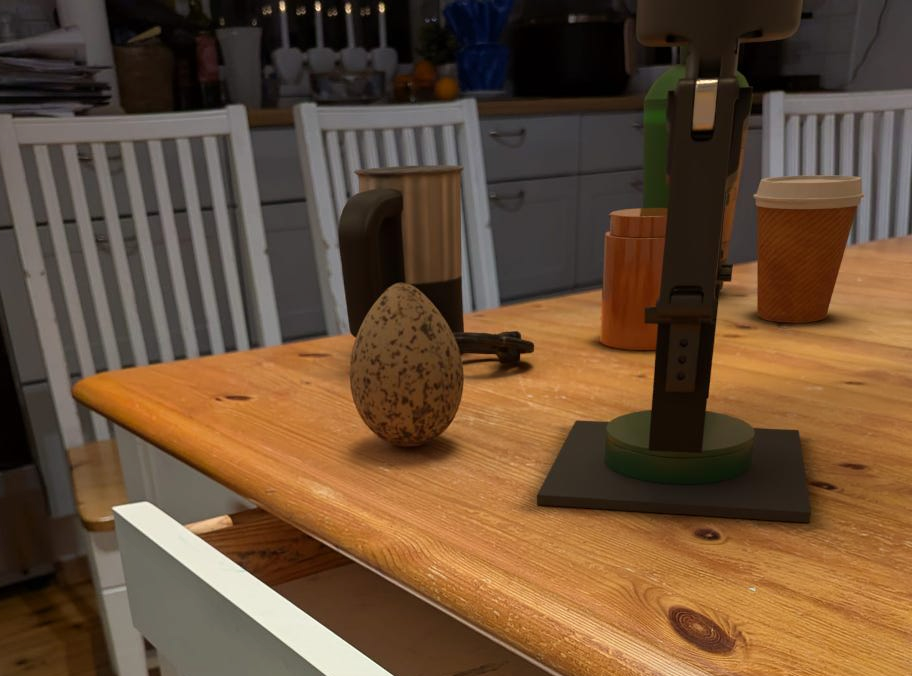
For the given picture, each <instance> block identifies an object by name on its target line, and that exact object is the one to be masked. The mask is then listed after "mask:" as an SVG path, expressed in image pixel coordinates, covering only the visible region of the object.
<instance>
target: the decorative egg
mask: <svg viewBox="0 0 912 676" xmlns="http://www.w3.org/2000/svg"><path fill="white" fill-rule="evenodd" d="M352 345H353V346H352V348H351V349H352V350H351V353H350V361H349V386H350V392H351V397H352V400H353V403H354V406H355V408H356V411H357V413H358V415H359V417H360V419H361V420H362V421H363V423H364V424H365V426H367V428H368V429H369V430H370V431H371V432H372V433H373V434H375V435H376V436H377V437H378V438H379V439H381V440H383V441H385V442H386V443H389V444H391V445H394V446H399V447H406V448H412V447H413V448H414V447H419V446H422V445H423V446H424V445H426V444H428V443H431V442H432V441H434V440H436V439H437V438H438V437H440V436H441V435H442V434H444V432H445V431H446V430H447V429H448V428H449V427H450V425H451V424H452V422H453V421H454V419H455V417H456V415H457V413H458V411H459V408H460V405H461V401H462V398H463V392H464V384H465V383H464V379H465V376H464V367H463V360H462V356H461V352H459V348H458V345H457V342H456V340H455V337H454V335H453V333H452V331H451V329H450V327H449V325H448V324H447V322H446V321H445V319H444V317H443V316H442V315H441V313H440V312H439V311H438V309H437V308H436V307H435V306H434V305H433V303H432V302H431V301H430V300H429V299H428V298H427V297H426V296H425V295H424V294H423V293H422V292H421V291H419V290H418V289H417V288H416V287H414V286H412V285H410V284H407V283H402V282H401V283H396V284H394V285H392V286H391V287H389V288H388V289H387V290H386V291H385V292H384V293H383V294H382V295H381V296H380V297H379V298H378V300H377V301H376V302H375V303H374V305H373V306H372V308H371V309H370V311H369V312H368V314H367V316H366V317H365V319H364V321H363V323H362V325H361V327H360V329H359V332H358V334H357V336H356V337H355V340H354V343H353V344H352Z"/></svg>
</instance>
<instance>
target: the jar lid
mask: <svg viewBox="0 0 912 676" xmlns="http://www.w3.org/2000/svg"><path fill="white" fill-rule="evenodd" d="M608 422H609V423H608V425H607V426H606V441H605V462H606V464H607V465H608V466H609V467H610V468H611V469H613V470H614V471H616V472H618V473H620V474H622V475H625V476H628V477H632V478H635V479H639V480H644V481H649V482H656V483H665V484H705V483H713V482H719V481H724V480H728V479H732V478H735V477H737V476H739V475H742V474H743V473H745V472H746V471H747V470H748V469H749V467H750V465H751V457H752V449H753V441H754V433H755V431H754V429H753V428H754V427H753V426H752V425H751V424H750V423H748V422H746V421H745V420H743V419H741V418H738V417H735V416H732V415H728V414H726V413H725V414H724V413H720V412H716V411H710V410H706V414H705V424H704V433H703V443H702V452H701V453H688V452H668V451H648V449H649V436H650V422H651V409H646V410H638V411H634V412H630V413H629V412H628V413H625V414H622V415H620V416H617V417H614V418H613V419H611V420H609V421H608Z"/></svg>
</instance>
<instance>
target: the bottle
mask: <svg viewBox="0 0 912 676" xmlns="http://www.w3.org/2000/svg"><path fill="white" fill-rule="evenodd" d="M687 53H688V46H679V64H675V65H674V66H672V67H670V68H669V69H668V70H666V71H665V72H664V73H663V74H662V75H660V76H659V77H658V78H657V79H656V80H655V81H654V82H653V84H652V85H651V87H650V88H649V90H648V92H647V94H646V95H645V97H644V99H643V144H642V145H643V146H642V147H643V148H642V149H643V151H642V152H643V153H642V154H643V155H642V156H643V158H642V161H643V162H642V208H668V199H669V188H670V186H669V185H668V184H667V182H666V173H665V163H666V153H667V144H668V134H669V133H668V132H667V130H666V115H665V112H666V102H667V94H668V90H675V88H677V83H678V82H679V79H685V70H686V59H687ZM736 76H737V79H738V81H739V85H740V87H750V85H749V82H748V80H747V78H746V77H745V75H743V73H741V72H740V71H739V70H737V75H736ZM753 99H754V94H753V92H752V101H751V107H752V105H753ZM751 112H752V109H751V110H750V113H751ZM748 129H749V126H748V127H747V129H746V130H745V131H744V132H743V135H742V143H741V152H740V162H739V171H738V178H737V181H736V182H735V183H734V184H733V185H731V186H730V187H728V188H727V196H726V206H725V216H724V226H723V236H722V246H721V249H722V250H724V252H723V259H721V262H720V264H728V256H729V249H730V243H731V237H732V232H733V224H734V219H735V213H736V206H737V199H738V194H739V186H740V181H741V174H742V167H743V162H744V155H745V150H746V149H745V148H746V143H747V136H748V131H749V130H748ZM716 285H720V291H722V290H723V287H724V282H716Z"/></svg>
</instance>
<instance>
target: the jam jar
mask: <svg viewBox="0 0 912 676" xmlns="http://www.w3.org/2000/svg"><path fill="white" fill-rule="evenodd" d="M667 211H668V208H643V207H642V208H641V207H639V208H626V209H619V210H614V211H611V212H610V213H609V214H608V217H609V218H610V219H609V231H606V232H605V233H604V245H603V263H602V264H603V265H602V285H601V286H602V287H601V289H602V290H601V310H600V328H599V329H600V333H599V341H600V343H601V344H602V345H603V346H606V347H610V348H614V349H619V350H625V351H656V342H657V328H658V324H644V313H645V307H656V301H657V298H659V296H660V288H661V277H662V266H663V255H664V244H665V233H666V222H667Z"/></svg>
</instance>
